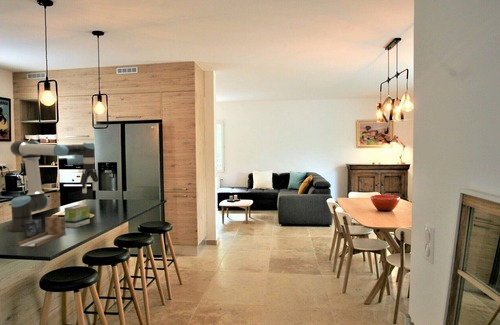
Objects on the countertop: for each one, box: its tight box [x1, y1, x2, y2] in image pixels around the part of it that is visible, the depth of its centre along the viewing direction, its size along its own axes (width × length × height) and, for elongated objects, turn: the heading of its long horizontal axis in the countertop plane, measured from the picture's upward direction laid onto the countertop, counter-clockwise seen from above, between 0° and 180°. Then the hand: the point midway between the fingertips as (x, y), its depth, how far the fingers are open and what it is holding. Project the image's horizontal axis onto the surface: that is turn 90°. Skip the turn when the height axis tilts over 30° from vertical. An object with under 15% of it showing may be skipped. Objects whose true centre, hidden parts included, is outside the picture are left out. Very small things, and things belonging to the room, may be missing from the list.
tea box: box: [64, 204, 91, 229], centre depth 243 cm, size 15×10×15 cm
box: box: [25, 218, 43, 238], centre depth 215 cm, size 8×6×11 cm
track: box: [16, 216, 66, 248], centre depth 205 cm, size 13×26×12 cm, turn 175°
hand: (89, 191), depth 239 cm, fingers open, 13 cm apart
